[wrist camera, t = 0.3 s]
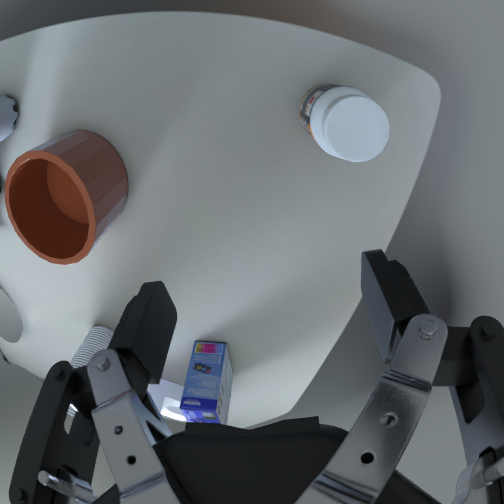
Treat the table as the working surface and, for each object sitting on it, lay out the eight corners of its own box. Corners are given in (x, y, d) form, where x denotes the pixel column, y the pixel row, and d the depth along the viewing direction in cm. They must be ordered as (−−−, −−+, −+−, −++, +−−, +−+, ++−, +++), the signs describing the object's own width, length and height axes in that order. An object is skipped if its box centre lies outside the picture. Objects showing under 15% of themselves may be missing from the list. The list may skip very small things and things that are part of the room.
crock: (32, 151, 28) (-9, 175, 21) (107, 113, 26) (64, 130, 19) (68, 235, 34) (36, 271, 28) (143, 216, 32) (116, 255, 26)
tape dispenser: (186, 408, 58) (179, 449, 49) (110, 378, 54) (96, 420, 45) (202, 392, 54) (195, 440, 45) (116, 358, 49) (99, 405, 40)
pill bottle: (289, 125, 26) (301, 148, 18) (312, 74, 23) (338, 72, 15) (340, 148, 27) (372, 183, 19) (364, 100, 24) (409, 115, 16)
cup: (131, 332, 44) (100, 413, 31) (125, 357, 49) (100, 429, 36) (85, 312, 42) (46, 387, 29) (85, 339, 47) (54, 408, 34)
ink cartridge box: (191, 339, 44) (174, 422, 32) (226, 340, 44) (216, 426, 32) (203, 374, 50) (191, 446, 37) (233, 375, 49) (227, 449, 37)
